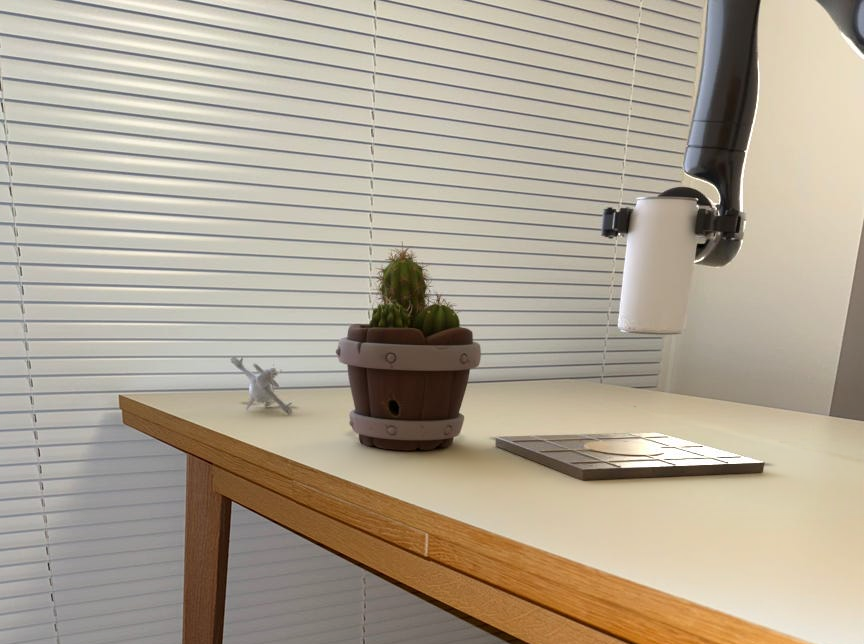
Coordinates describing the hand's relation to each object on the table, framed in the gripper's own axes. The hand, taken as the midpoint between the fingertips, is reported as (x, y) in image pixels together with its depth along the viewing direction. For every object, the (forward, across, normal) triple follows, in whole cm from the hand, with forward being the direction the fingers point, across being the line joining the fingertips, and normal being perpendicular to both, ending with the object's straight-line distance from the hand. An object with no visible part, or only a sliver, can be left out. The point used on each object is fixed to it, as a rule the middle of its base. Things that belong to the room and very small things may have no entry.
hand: (661, 220), depth 89 cm
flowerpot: (+4, -23, +22) cm, 32 cm away
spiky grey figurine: (-9, -48, +22) cm, 54 cm away
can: (-2, 0, +10) cm, 10 cm away
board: (0, -1, +22) cm, 22 cm away
